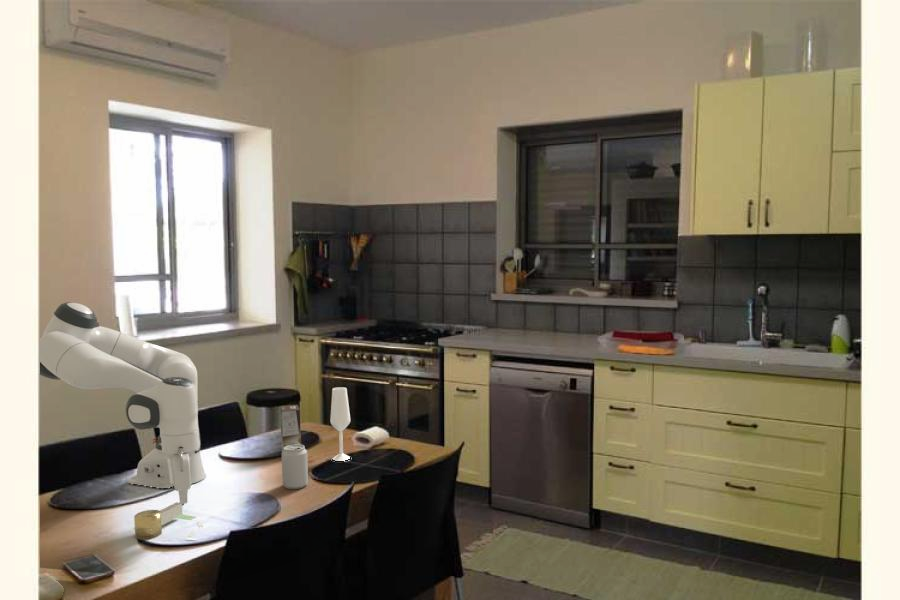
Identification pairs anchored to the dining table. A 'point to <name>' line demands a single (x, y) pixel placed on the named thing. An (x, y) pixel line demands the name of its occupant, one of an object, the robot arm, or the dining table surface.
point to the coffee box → (290, 425)
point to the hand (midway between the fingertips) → (183, 496)
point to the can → (294, 466)
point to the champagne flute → (340, 417)
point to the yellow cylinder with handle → (155, 520)
